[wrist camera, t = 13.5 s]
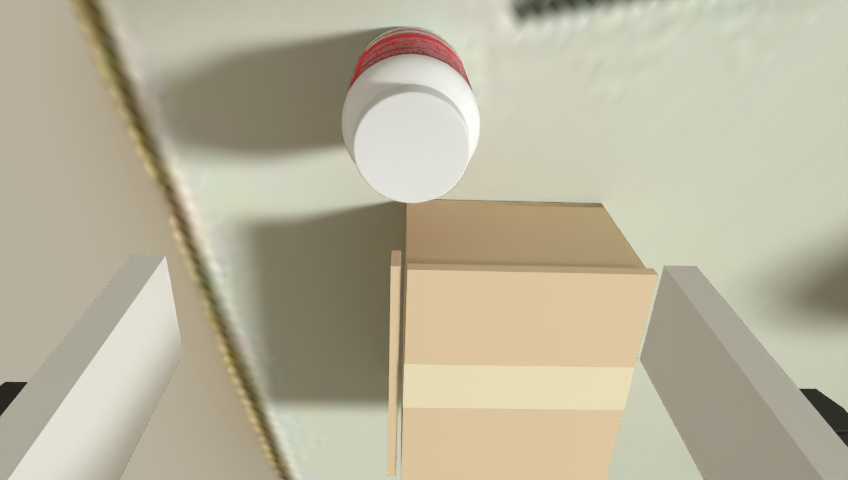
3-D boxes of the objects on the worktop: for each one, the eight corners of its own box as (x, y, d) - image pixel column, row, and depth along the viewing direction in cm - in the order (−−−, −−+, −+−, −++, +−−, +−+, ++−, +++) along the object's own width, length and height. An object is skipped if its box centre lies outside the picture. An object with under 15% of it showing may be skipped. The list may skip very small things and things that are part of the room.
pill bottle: (336, 46, 33) (308, 101, 23) (445, 7, 32) (463, 47, 22) (377, 150, 36) (367, 239, 26) (478, 117, 35) (506, 195, 25)
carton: (406, 198, 37) (407, 265, 30) (601, 203, 38) (647, 270, 31) (401, 378, 44) (401, 467, 37) (567, 380, 44) (598, 468, 37)
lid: (391, 250, 31) (390, 269, 29) (644, 255, 31) (658, 275, 30) (388, 455, 38) (387, 480, 36) (596, 456, 38) (605, 482, 36)
